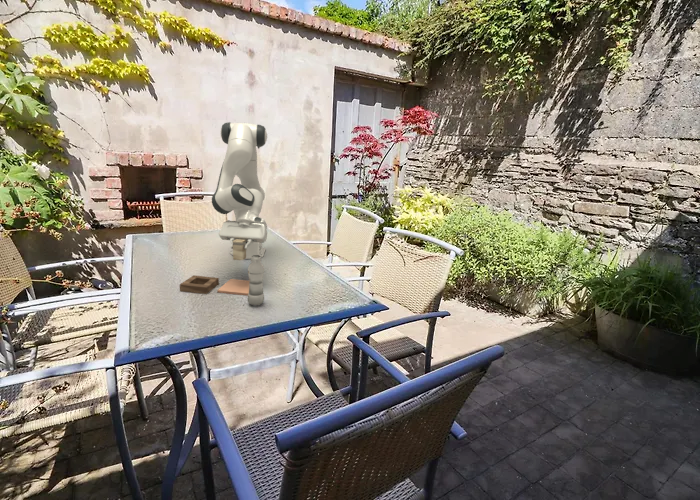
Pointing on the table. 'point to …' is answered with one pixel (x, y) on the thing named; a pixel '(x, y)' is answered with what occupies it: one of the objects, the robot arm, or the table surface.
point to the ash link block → (239, 249)
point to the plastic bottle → (255, 281)
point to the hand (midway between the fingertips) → (239, 248)
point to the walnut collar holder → (199, 284)
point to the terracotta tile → (235, 287)
